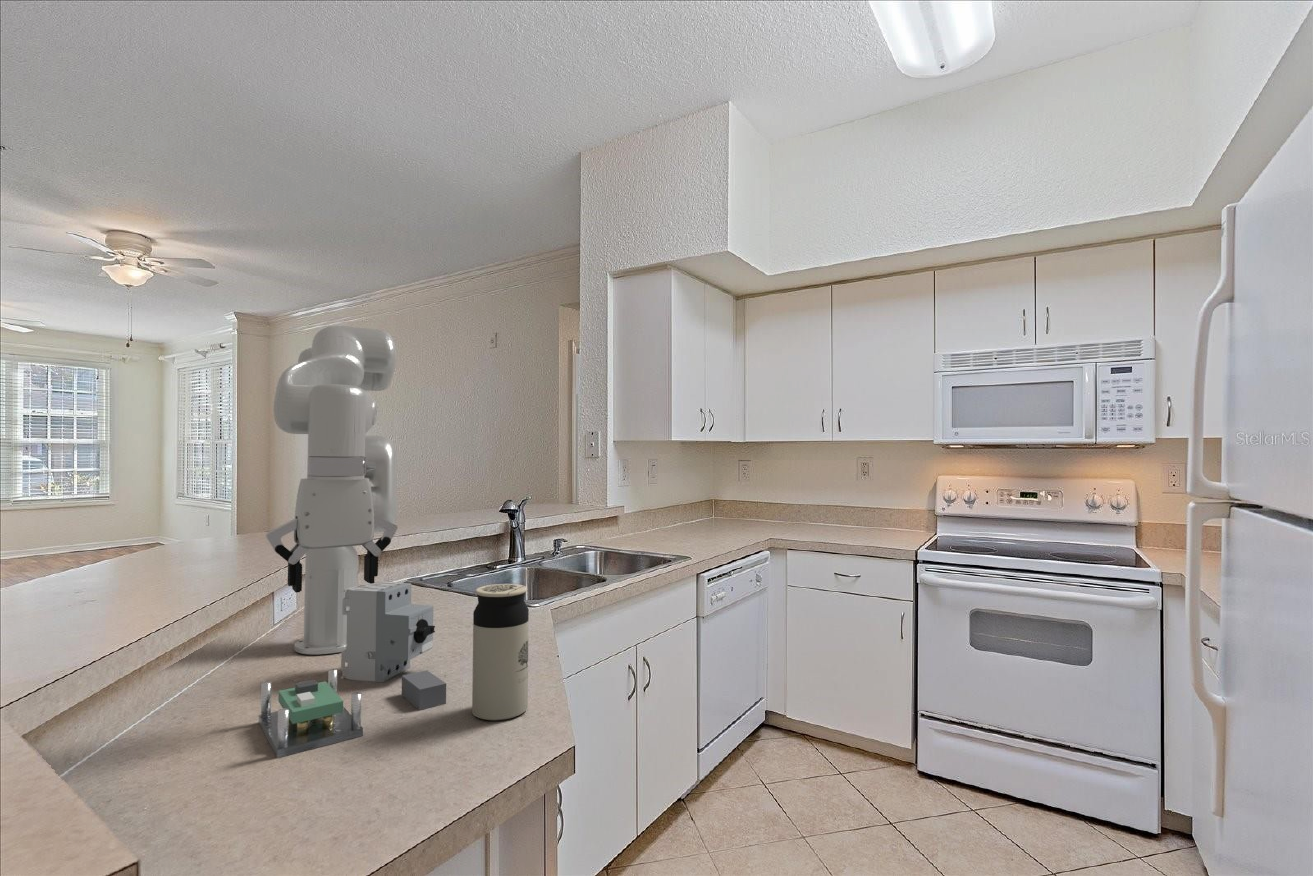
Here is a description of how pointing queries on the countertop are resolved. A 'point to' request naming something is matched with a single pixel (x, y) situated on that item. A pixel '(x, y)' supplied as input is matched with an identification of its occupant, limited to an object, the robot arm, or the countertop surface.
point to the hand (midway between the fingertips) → (334, 586)
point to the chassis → (308, 724)
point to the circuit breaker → (383, 630)
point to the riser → (423, 689)
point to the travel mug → (500, 652)
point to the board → (310, 701)
